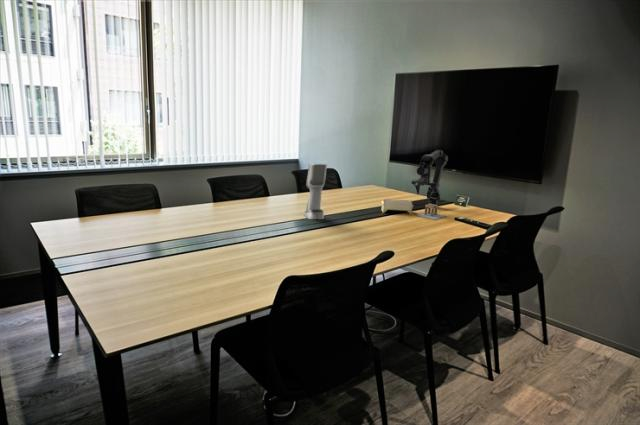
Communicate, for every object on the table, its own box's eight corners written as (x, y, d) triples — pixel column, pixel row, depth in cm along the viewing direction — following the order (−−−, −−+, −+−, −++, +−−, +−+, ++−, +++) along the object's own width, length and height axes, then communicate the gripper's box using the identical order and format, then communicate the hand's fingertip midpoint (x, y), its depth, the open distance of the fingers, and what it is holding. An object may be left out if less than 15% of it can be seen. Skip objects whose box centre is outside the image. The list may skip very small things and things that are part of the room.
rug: (427, 212, 298) (427, 211, 298) (445, 216, 289) (446, 215, 289) (416, 215, 286) (416, 215, 286) (434, 220, 277) (435, 219, 277)
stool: (428, 213, 293) (429, 203, 291) (436, 215, 289) (437, 205, 287) (424, 214, 289) (425, 204, 287) (432, 216, 285) (433, 206, 283)
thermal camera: (308, 220, 262) (310, 164, 253) (302, 214, 274) (305, 161, 265) (325, 219, 266) (329, 164, 257) (320, 214, 277) (322, 161, 269)
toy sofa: (410, 211, 298) (411, 197, 295) (412, 214, 289) (414, 200, 287) (380, 210, 297) (381, 196, 295) (382, 213, 289) (383, 198, 286)
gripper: (408, 172, 292) (406, 194, 296) (433, 176, 280) (431, 199, 284) (416, 171, 300) (414, 192, 304) (440, 174, 289) (438, 197, 293)
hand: (423, 195), depth 296 cm, fingers open, 9 cm apart
